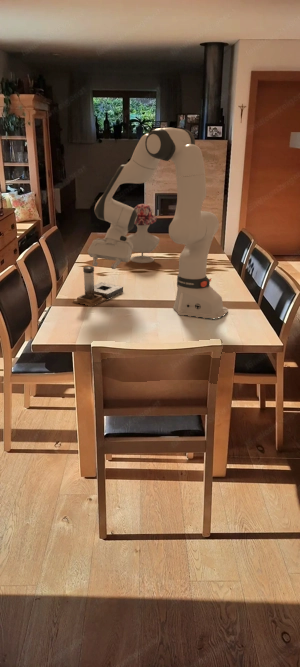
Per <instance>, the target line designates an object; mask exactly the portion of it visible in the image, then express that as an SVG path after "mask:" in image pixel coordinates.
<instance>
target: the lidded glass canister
mask: <svg viewBox="0 0 300 667" xmlns="http://www.w3.org/2000/svg"><path fill="white" fill-rule="evenodd" d="M82 268H83V269H82V270H83V277H84V278H83V280H84V282H83V284H84V294H85V299H89V300H92V299H94V285H95V275H94V272H95V266H93V265H92V266H91V265H87V266H86V265H85V266H83V267H82Z"/></svg>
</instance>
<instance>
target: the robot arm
mask: <svg viewBox="0 0 300 667" xmlns="http://www.w3.org/2000/svg"><path fill="white" fill-rule="evenodd" d="M161 160H162V161H165V162H169V161H171V162H173V164H174V167H175V179H176V181H175V182H176V195H177V197H176V198H177V199H176V206H175V212H174V216H173V218H172V220H171V222H170V223H169V225H168V235H169V238H170V240H172V242H173V243H175V244H177V245H184V248H183V249H182V251H181V252H180V255H179V259H178V274H177V275H176V276H177V278H176V286H177V290H176V295H175V301H174V304H173V307H172V309H173V310H174V311H176V312H177V315H179V316H184V315H188V316H187V317H191V316H196V317H195V318H198V317H203V318H202V319H205V318H212V319H213V318H218V317H221V316H223V315H224V314H226V313H227V312H228V313H229V309H228V307H226V306H224V305H223V304H224V302H223V298H222V296H221V294H219V293H218V292H217V291H216V290H215V289H214V288H213V287H212V286H211V285H210V283H211V282H212V279H213V278H211V277H210V278H209V277H207V264H208V256H209V252H210V249H211V245H212V242H213V240H214V236H215V235H216V233H218V230H219V228H220V221H219V218H218V216H217V215H216V214H215V213H214V212H211V211H206V210H202V208H203V204H204V202H205V199H206V198H207V180H206V179H207V178H206V168H205V161H204V160H205V159H204V155H203V152H202V149H201V148H200V147H199V146H198V145H196V139H195V135H194V134H193V132H191V131H190V130H188V129H185V128H182V127H181V128H175V127H163V128H155V129H153V130H151V131H149V132H148V133H145V134H144V135H142V136H141V137H140V139H139V141H138V142H137V145H136V146H135V149H134V150H133V153H132V156H131V158H130V160H129V161H128V162H127V163H126V164H121V165H120V166H119V167H118V168H117V170H116V172H115V173H114V174H113V176H112V178H111V179H110V181H109V183H108V185H107V186H106V188H105V190H104V192H103V194H102V195H101V196H100V197H99V199H98V200H97V202H96V203H95V206H94V209H93V210H94V214H95V216H96V218H97V219H99V220H101V221H105V222H108V223H109V224H110V227H109V228H108V229H107V231H106V233H105V236H104V238H100V237H97V238H95V239H93V240H92V242H91V244H90V245H89V247H88V249H87V254H88V255H89V257H91V258H92V260H93V262H92V267H98V264H99V262H97V260H99V259H101V260H102V259H103V260H107V261H108V260H109V261H114V263H112V264H111V266H110V268H111V269H112V270H116V269H117V266H119V265H120V264H121V263H122V262H123V263H128V262H130V261H131V260H130V258H132V254H133V251H132V249H133V244H132V242H131V241H130V239H129V238H128V237H127V236H128V233H129V232H130V231H132V230H133V229H134V228H135V225H134V224H135V222H136V220H137V217H138V215H137V212H136V210H135V209H134V208H135V207H132V206H129V205H128V204H125V203H123V202H121V201H118V200H115V199H114V198H113V196H114V195H115V193H116V191H117V190H118V188H119V186H120V185H123V184H144V183H147V182H149V181H151V179H153V177H154V175H155V173H156V172H157V170H158V167H159V164H160V161H161ZM228 313H227V314H228ZM227 314H226V315H227ZM223 317H224V316H223ZM212 319H211V320H212Z"/></svg>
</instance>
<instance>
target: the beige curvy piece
mask: <svg viewBox="0 0 300 667" xmlns="http://www.w3.org/2000/svg"><path fill="white" fill-rule="evenodd" d="M133 208H134V209H135V210H136V212H137V215H138V217H137V220H136V222H135V224H134V226H136V227H137V229H136V232H135V233H132V234H129V235H126V237H128V238H129V239H130V241H131V242H132V244H133V249H132V253H140V254H141V255H137V256H131V258H130V260H129V261H131V262H133V263H138V264H146V263H147V264H148V263H149V264H150V263H152V262H154V261H155V258H154V257H152V256H148V255H144V253H145V254H150V253H152V252H153V251H154V250H155V249H156V248H157V247H158V245H159V243H160V241H161V239H160V237H158V236H156V235H153V234H151V233H150V232H148V229H149V227H150V225H153V224H154V223H156V222H157V219H158V217H157V216H155V215H153V209H152V207H151V206H150V205H149V204H146V203H140V204H139V203H138V204H137V205H136V206H135V207H133Z"/></svg>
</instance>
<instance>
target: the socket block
mask: <svg viewBox="0 0 300 667" xmlns="http://www.w3.org/2000/svg"><path fill="white" fill-rule="evenodd" d="M123 293H124V287H123V286H121V285H116V284H110V283H108V282H107V283H106V282H98V283H97V284H94V294H96V295H100V296H102V298H106V300H107V299H108V300H110V299H112V298H114V297H116V296H118V295H120V294H123ZM111 297H112V298H111ZM109 298H110V299H109Z"/></svg>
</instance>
